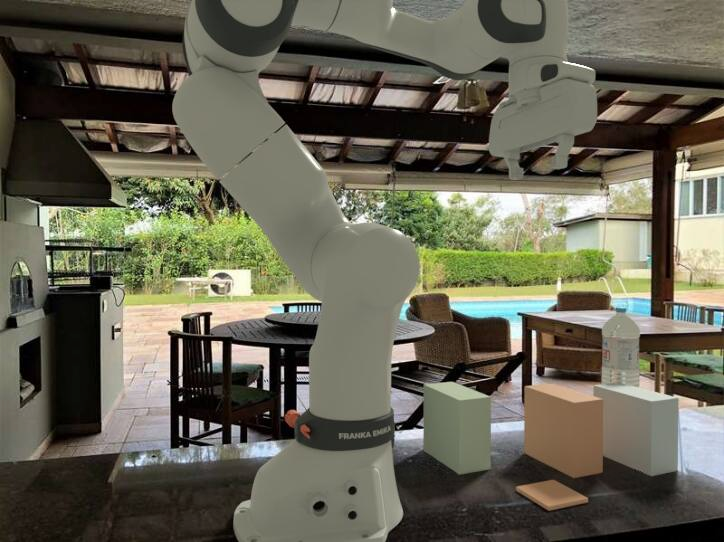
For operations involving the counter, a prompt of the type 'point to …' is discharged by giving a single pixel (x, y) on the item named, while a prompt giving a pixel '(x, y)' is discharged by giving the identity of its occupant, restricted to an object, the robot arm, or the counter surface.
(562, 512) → the counter surface
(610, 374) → the water bottle
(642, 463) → the blue-grey block
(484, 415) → the sage block
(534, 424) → the terracotta block
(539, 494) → the tile
